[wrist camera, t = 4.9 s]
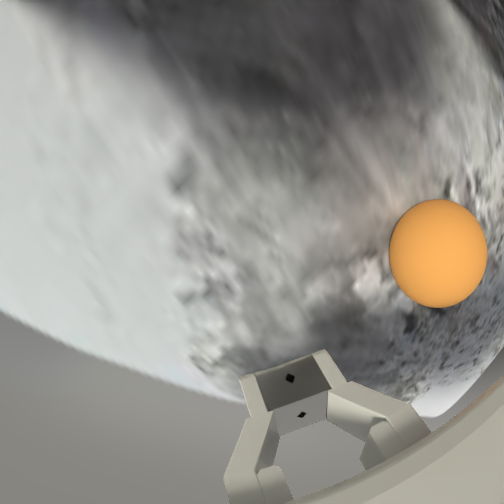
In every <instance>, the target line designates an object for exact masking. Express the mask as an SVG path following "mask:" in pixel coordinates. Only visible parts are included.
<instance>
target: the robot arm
mask: <svg viewBox="0 0 504 504" xmlns="http://www.w3.org/2000/svg"><path fill="white" fill-rule="evenodd" d="M239 382H240V385H241V388H242V391H243V394H244V398H245V401H246V404H247V407H248V410H249V413H250V416H251V417H249V418H247V419H246V421H245V423H244V426H243V429H242V431H241V434H240V437H239V439H238V442H237V444H236V447H235V449H234V452H233V454H232V457H231V459H230V462H229V464H228V467H227V469H226V472H225V474H224V477H223V479H224V482H225V487H226V491H227V494H228V498H229V502H230V504H504V375H503V376H501V377H500V379H498V380H497V381H496V382H495V383H494V384H493V385H492V386H491V387H490V388H489V389H487V390H486V391H485V392H484V393H483V394H482V395H480V396H479V397H478V398H477V399H476V400H475V401H473V402H472V403H471V404H470V405H468V406H467V407H466V408H465V409H463V410H462V411H461V412H460V413H458V414H457V415H456V416H454V417H453V418H452V419H450V420H449V421H448V422H446V423H445V424H443V425H442V426H441V427H439V428H438V429H436V430H435V431H433V432H432V433H431V431H430V430H429V429H428V427H427V426H426V424H425V423H424V422H423V420H422V419H421V418H420V416H419V415H418V414H417V412H416V411H415V410H414V408H413V407H412V406H411V404H408V403H405V402H403V401H400V400H398V399H395V398H392V397H390V396H387V395H385V394H382V393H380V392H377V391H375V390H373V389H370V388H368V387H365V386H363V385H361V384H358V383H356V382H353V381H350V382H347V380H346V379H345V377H344V376H343V374H342V373H341V371H340V370H339V368H338V367H337V365H336V364H335V362H334V361H333V359H332V358H331V356H330V354H329V353H328V351H327V350H325V349H323V350H320V351H317V352H315V353H312V354H308V355H306V356H303V357H300V358H298V359H295V360H292V361H289V362H286V363H284V364H282V365H279V366H276V367H272V368H269V369H265V370H262V371H258V372H255V373H251V374H248V375H244V376H241V377H239ZM325 419H327V420H328V421H329V422H331V423H333V424H335V425H336V426H338V427H339V428H341V429H343V430H345V431H346V432H348V433H350V434H351V435H353V436H355V437H357V438H358V439H360V440H362V441H364V442H366V443H365V446H364V448H363V451H362V454H361V456H360V461H361V463H362V464H363V466H364V468H365V470H366V471H364V472H362V473H360V474H358V475H356V476H353V477H351V478H349V479H347V480H344V481H342V482H340V483H338V484H335V485H333V486H330V487H328V488H325V489H323V490H320V491H318V492H315V493H312V494H309V495H306V496H303V497H300V498H297V499H294V500H293V497H292V495H291V493H290V490H289V487H288V485H287V483H286V480H285V478H284V475H283V473H282V470H281V468H280V467H278V466H273V462H274V458H275V455H276V451H277V447H278V443H279V439H280V435H284V434H286V433H289V432H292V431H294V430H297V429H299V428H302V427H305V426H308V425H311V424H314V423H317V422H319V421H322V420H325Z"/></svg>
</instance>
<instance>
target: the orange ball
mask: <svg viewBox="0 0 504 504" xmlns="http://www.w3.org/2000/svg"><path fill="white" fill-rule="evenodd" d="M389 259H390V266H391V270H392V273H393V276H394V278H395V280H396V282H397V284H398V285H399V287H400V288H401V290H402V291H403V292H404V293H405V294H406V295H407V296H408V297H409V298H411V299H412V300H414V301H415V302H417V303H419V304H421V305H424V306H427V307H433V308H443V307H449V306H452V305H455V304H457V303H459V302H461V301H463V300H464V299H466V298H467V297H468V296H469V295H470V294H471V293H472V292H473V291H474V290H475V289H476V287H477V286H478V284H479V283H480V281H481V279H482V277H483V274H484V271H485V268H486V263H487V244H486V239H485V235H484V233H483V230H482V228H481V226H480V224H479V223H478V221H477V220H476V218H475V217H474V216H473V215H472V214H471V213H470V212H469V211H468V210H467V209H466V208H464V207H462V206H461V205H459V204H457V203H455V202H452V201H448V200H443V199H434V200H428V201H424V202H422V203H419V204H417V205H416V206H414V207H412V208H411V209H410V210H409V211H407V212H406V213H405V214H404V215H403V216H402V218H401V219H400V220H399V222H398V223H397V225H396V227H395V229H394V231H393V234H392V237H391V241H390V248H389Z"/></svg>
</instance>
